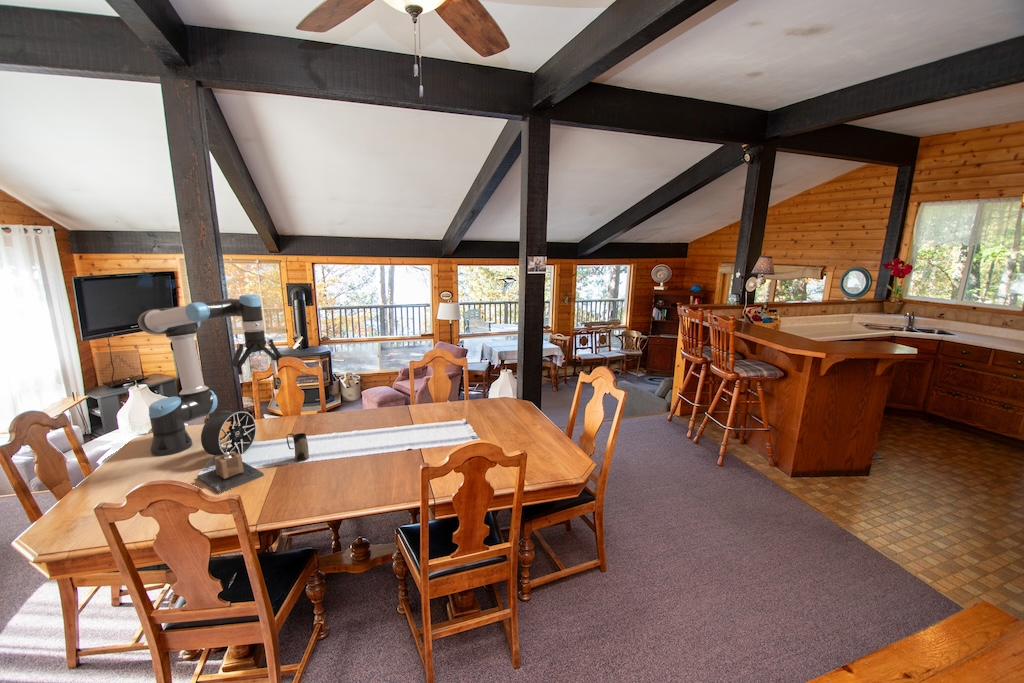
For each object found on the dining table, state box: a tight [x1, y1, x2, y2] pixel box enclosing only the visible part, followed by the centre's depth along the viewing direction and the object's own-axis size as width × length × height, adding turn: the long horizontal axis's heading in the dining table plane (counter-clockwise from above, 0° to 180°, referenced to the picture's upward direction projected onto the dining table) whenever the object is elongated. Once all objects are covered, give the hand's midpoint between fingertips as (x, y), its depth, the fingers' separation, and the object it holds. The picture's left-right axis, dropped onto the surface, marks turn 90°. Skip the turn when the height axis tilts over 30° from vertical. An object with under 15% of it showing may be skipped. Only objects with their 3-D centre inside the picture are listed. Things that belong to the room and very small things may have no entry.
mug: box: [286, 432, 310, 463], centre depth 184 cm, size 8×6×12 cm
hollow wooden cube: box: [213, 451, 244, 479], centre depth 169 cm, size 7×7×7 cm
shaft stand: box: [196, 452, 265, 494], centre depth 169 cm, size 20×16×11 cm
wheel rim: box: [200, 410, 257, 456], centre depth 189 cm, size 20×9×20 cm, turn 168°
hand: (259, 377), depth 187 cm, fingers open, 13 cm apart
